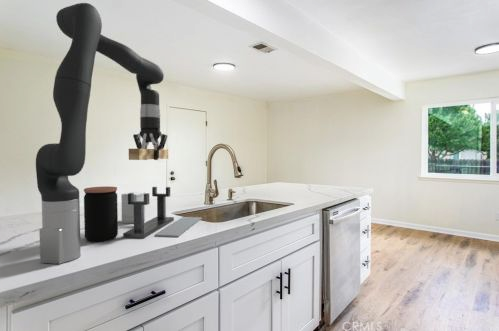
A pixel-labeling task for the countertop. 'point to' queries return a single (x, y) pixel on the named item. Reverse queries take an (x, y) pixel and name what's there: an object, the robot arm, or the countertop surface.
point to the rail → (146, 154)
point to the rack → (139, 226)
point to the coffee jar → (100, 214)
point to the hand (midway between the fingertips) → (150, 159)
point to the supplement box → (130, 207)
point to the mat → (178, 227)
